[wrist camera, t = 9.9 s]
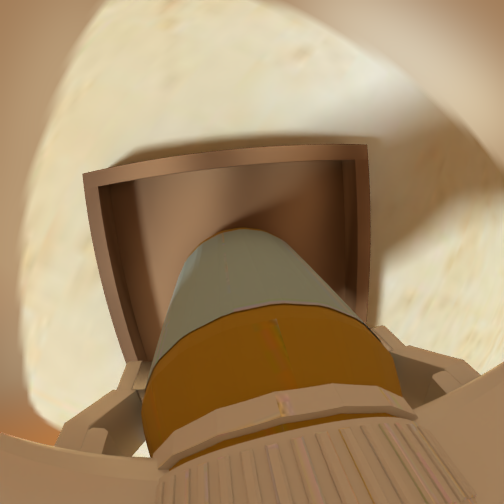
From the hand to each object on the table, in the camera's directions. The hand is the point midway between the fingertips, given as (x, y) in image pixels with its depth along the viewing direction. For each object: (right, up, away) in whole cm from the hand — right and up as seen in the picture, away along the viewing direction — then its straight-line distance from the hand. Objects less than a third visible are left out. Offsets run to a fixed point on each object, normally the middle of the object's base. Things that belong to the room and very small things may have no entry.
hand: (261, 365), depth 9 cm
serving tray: (-1, +2, +8) cm, 9 cm away
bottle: (-1, +2, +7) cm, 8 cm away
